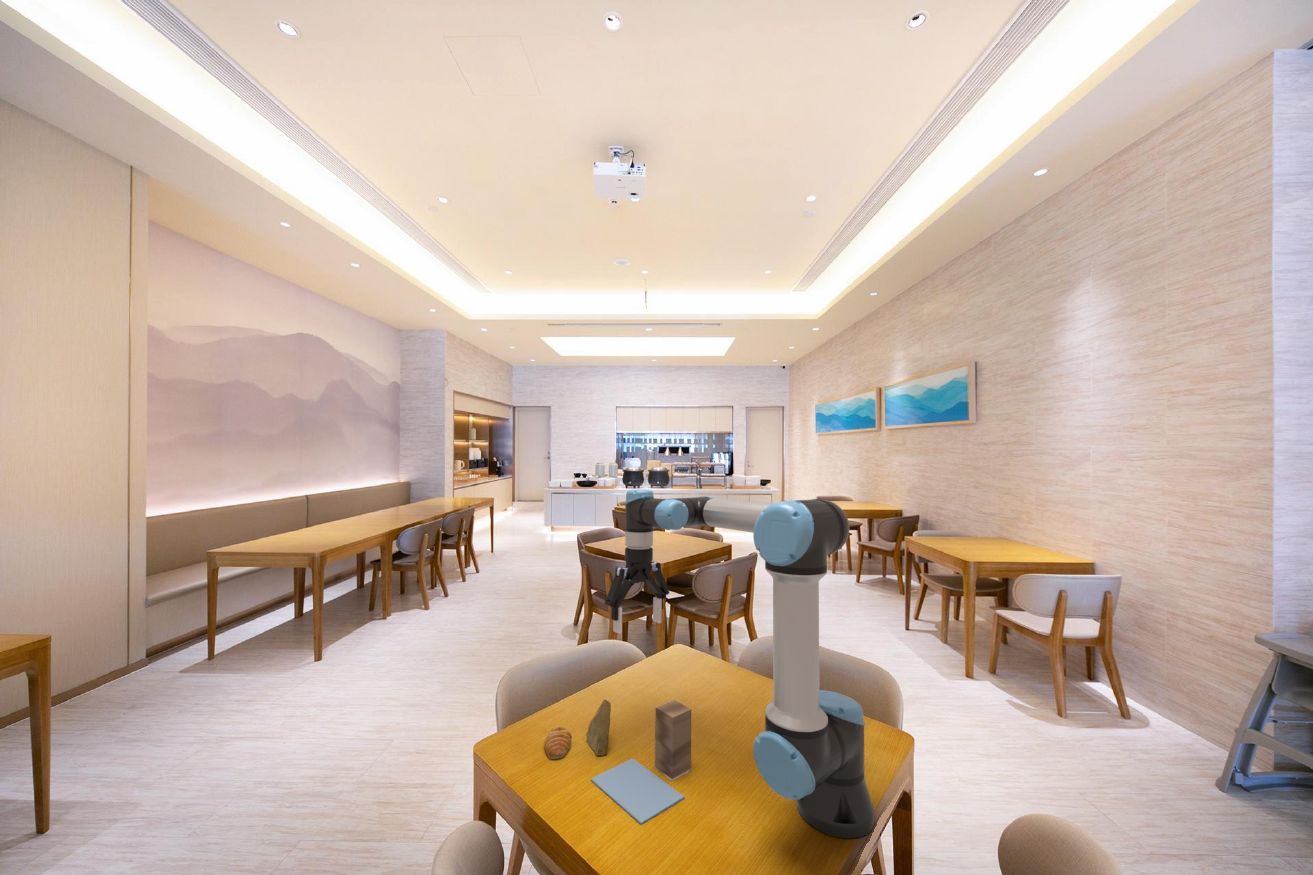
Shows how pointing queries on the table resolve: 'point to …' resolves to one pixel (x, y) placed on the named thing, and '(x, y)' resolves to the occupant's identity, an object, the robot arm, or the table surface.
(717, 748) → the table surface
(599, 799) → the table surface
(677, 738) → the walnut block
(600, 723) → the rock
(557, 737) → the pastry
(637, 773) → the mat
